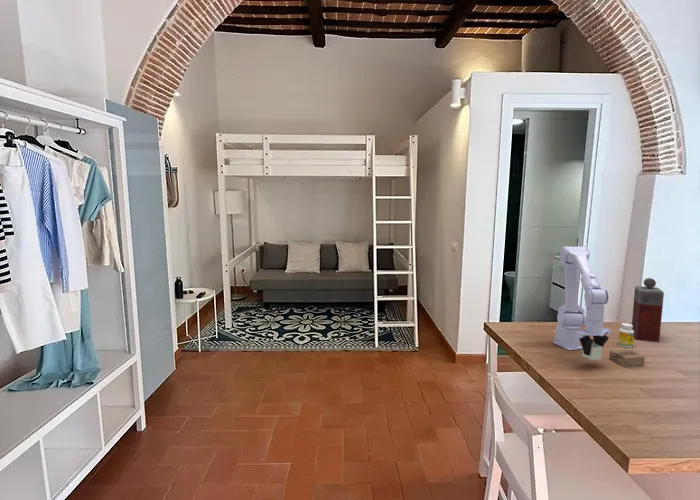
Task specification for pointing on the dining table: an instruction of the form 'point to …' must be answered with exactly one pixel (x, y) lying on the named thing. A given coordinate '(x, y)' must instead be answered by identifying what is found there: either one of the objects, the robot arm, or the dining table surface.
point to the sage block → (594, 352)
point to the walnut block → (626, 358)
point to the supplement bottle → (626, 335)
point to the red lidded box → (647, 311)
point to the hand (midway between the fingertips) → (591, 353)
